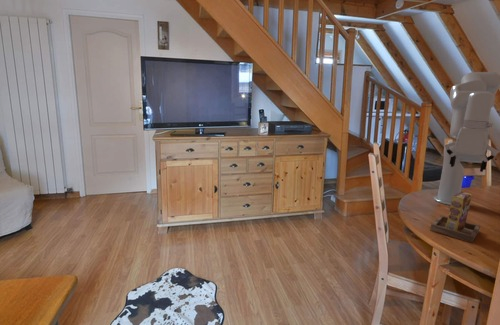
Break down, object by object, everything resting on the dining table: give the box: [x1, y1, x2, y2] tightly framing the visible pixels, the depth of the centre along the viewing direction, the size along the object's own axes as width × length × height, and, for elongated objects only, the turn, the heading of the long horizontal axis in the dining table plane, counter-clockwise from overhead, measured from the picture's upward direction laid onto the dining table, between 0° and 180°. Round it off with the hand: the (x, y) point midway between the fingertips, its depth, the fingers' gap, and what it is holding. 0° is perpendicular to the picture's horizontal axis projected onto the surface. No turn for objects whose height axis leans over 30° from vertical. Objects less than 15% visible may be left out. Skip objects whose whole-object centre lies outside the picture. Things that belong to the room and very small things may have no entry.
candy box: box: [446, 191, 473, 231], centre depth 126 cm, size 9×4×15 cm, turn 127°
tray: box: [430, 215, 481, 244], centre depth 127 cm, size 14×14×2 cm
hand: (466, 168), depth 122 cm, fingers open, 9 cm apart
